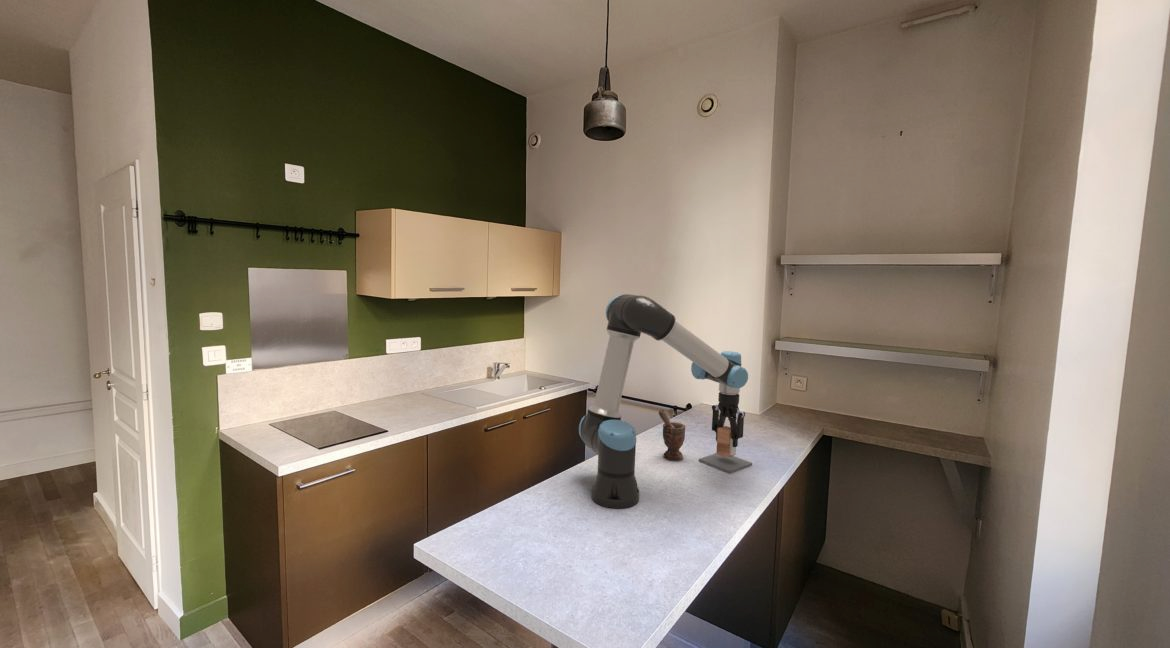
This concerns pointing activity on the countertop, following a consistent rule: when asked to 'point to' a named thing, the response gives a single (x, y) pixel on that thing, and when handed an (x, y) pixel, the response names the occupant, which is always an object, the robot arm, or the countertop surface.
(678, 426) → the mortar and pestle
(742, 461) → the slate card
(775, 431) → the countertop surface
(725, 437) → the terracotta block
